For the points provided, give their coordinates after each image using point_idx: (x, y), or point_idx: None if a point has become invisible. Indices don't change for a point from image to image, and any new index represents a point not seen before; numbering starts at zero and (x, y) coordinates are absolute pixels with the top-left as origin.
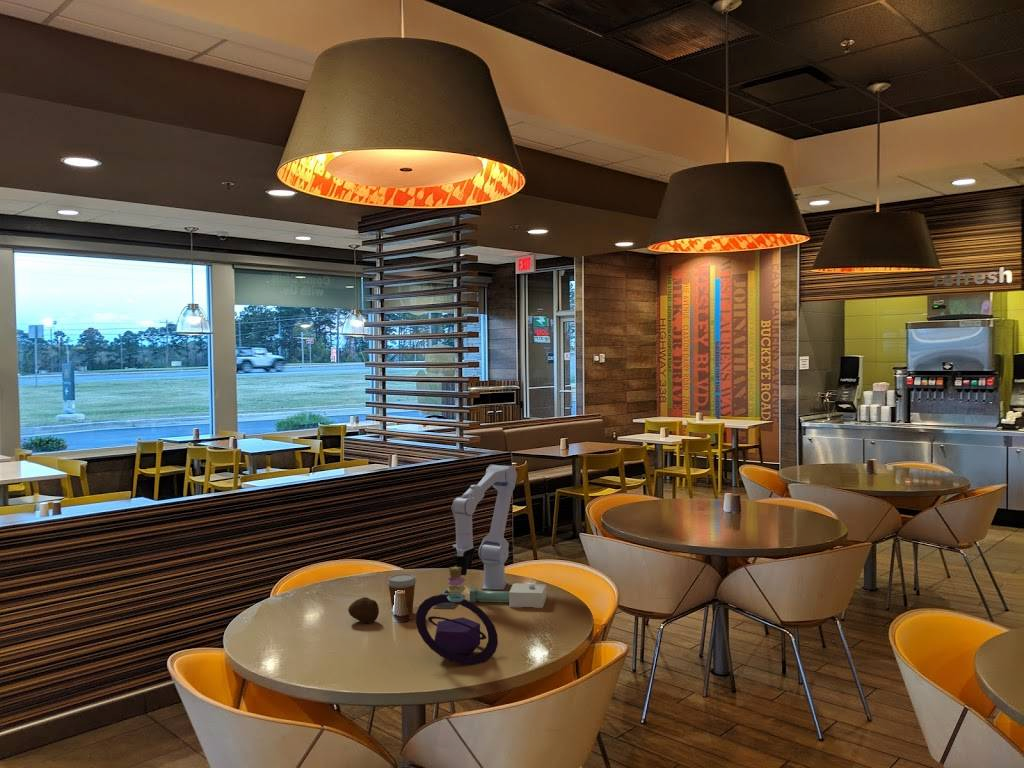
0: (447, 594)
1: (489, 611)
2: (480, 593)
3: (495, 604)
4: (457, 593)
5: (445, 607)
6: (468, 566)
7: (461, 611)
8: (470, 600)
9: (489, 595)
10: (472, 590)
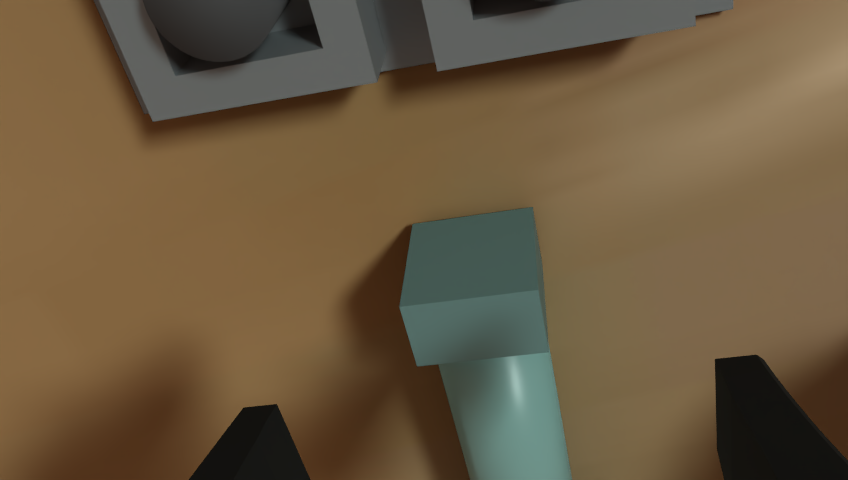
0: (269, 7)
1: None
2: (452, 386)
3: (448, 434)
4: (516, 53)
5: (108, 28)
6: (728, 466)
7: (124, 230)
8: (413, 241)
9: (462, 450)
10: (444, 327)
